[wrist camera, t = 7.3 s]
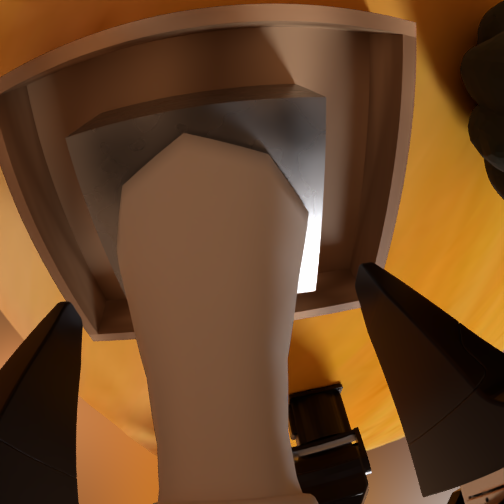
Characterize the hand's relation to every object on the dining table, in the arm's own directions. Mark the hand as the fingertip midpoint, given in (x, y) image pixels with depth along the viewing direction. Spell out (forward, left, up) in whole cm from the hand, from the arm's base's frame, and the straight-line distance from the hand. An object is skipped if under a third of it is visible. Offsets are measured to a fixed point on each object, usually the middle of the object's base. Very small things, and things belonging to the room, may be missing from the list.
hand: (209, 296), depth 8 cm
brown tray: (0, 0, -8) cm, 8 cm away
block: (0, 0, -8) cm, 8 cm away
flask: (0, 0, -4) cm, 4 cm away
